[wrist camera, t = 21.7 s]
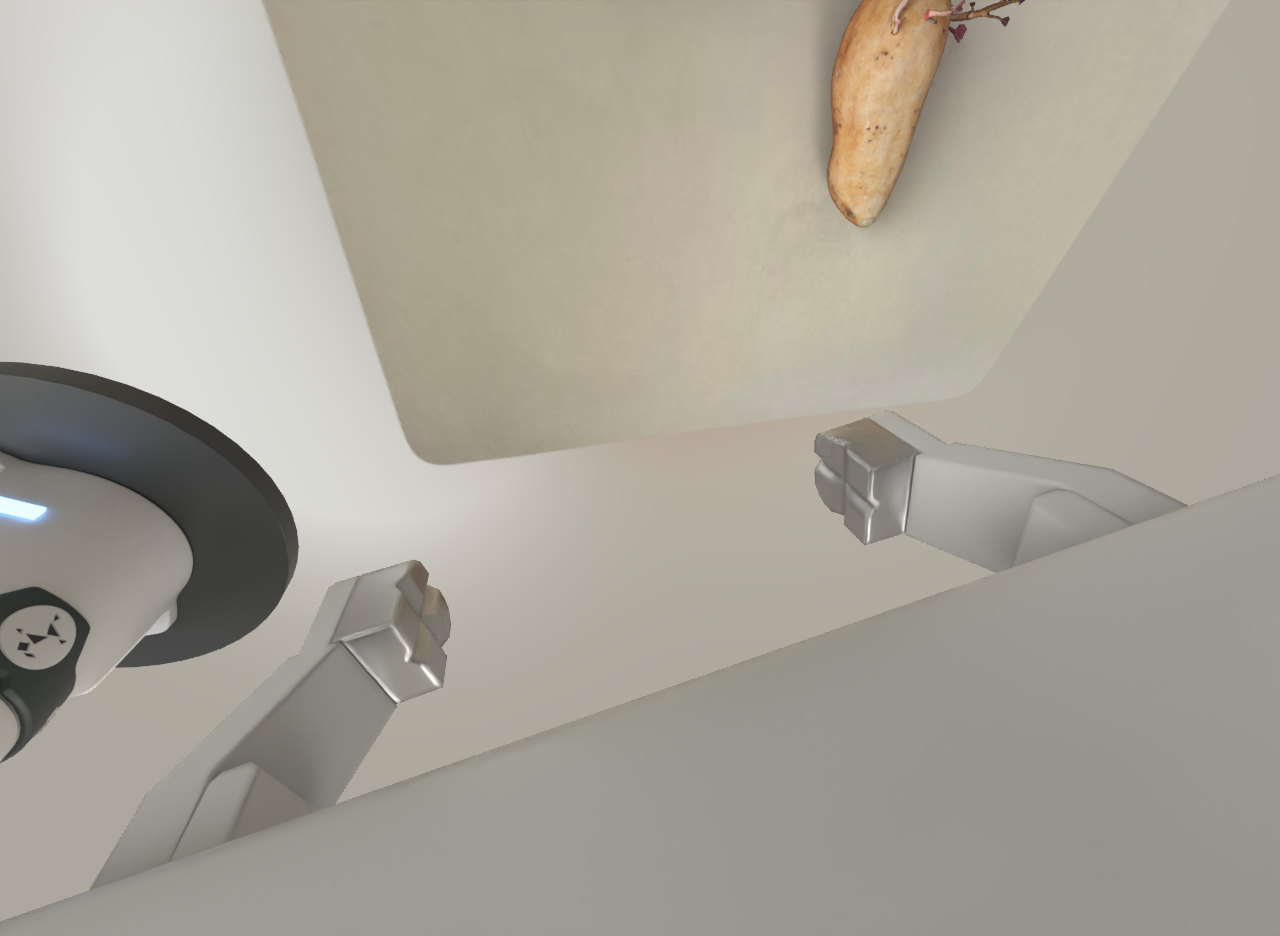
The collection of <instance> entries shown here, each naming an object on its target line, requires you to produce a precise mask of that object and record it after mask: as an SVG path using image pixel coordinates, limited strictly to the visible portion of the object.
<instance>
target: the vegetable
mask: <svg viewBox="0 0 1280 936" xmlns="http://www.w3.org/2000/svg"><path fill="white" fill-rule="evenodd" d="M1023 1H1025V0H1017V1H1016V0H1008V1H1006V0H1001V1H1000V2H999V3H995V4H992V5H989V6H987V7H985V8H983V9H981V10H976V11H974V7H973V5H975V2H972V3H970V6H971V7H972V10H971V11H969V12H965V13H958V14H952V13H957V12H960V11H962V5H963V4H964V3H965V0H964V1H962V2H961V3H960V4H959V5H958V6H956V7H955V8H953V9H951V7H952V5H951V0H863V1H862V3H861V4H860V5H859V7H858V8H857V10H856V12H855V13H854V15H853V17H852V18H851V20H850V22H849V24H848V26H847V28H846V30H845V33H844V35H843V38H842V41H841V45H840V48H839V51H838V55H837V58H836V61H835V65H834V68H833V75H832V81H831V107H832V120H833V147H832V152H831V156H830V160H829V165H828V170H827V181H828V188H829V191H830V194H831V197H832V199H833V201H834V203H835V205H836V206H837V208H838V209H839V210H840V211H841V212H842V214H843V215H844V216H845V217H846V218H847V219H848V220H849V221H851V222H852V223H853V224H855V225H856V226H858V227H862V228H863V227H867V226H869V225H870V224H872V223H873V222H874V221H875V220H876V218H877V217H878V215H879V214H880V212H881V210H882V209H883V207H884V206H885V204H886V202H887V200H888V198H889V196H890V194H891V192H892V190H893V188H894V186H895V183H896V181H897V179H898V176H899V174H900V172H901V169H902V167H903V165H904V162H905V159H906V156H907V153H908V150H909V147H910V144H911V141H912V137H913V134H914V131H915V127H916V124H917V121H918V118H919V115H920V112H921V109H922V106H923V103H924V100H925V98H926V95H927V93H928V90H929V88H930V85H931V83H932V80H933V78H934V76H935V73H936V71H937V68H938V66H939V63H940V60H941V57H942V53H943V50H944V46H945V43H946V40H947V35H948V29H949V30H950V32H951V33H953V35H954V37H955V39H956V40H957V42H958V43H959V41H960V40H961V39H962V38H963V35H964V33H965V31H966V30H967V28H966V27H965V25H964V24H961V25H959V26H958V27H957V28H956V29H953V28H952V27H950V26H949V24H950V21H956V22H957V21H964V20H970V19H974V18H977V17H989V18H996V19H999V20H1000V21H1001V23H1002V24H1003V25H1004V26H1005V27H1006V25H1007V23H1008V21H1009V19H1010V18H1009V17H1006V18H1003V19H1002V18H1000V17H998V16H994V15H990V14H989V12H990V11H992V10H995V9H998V8H1000V7H1003V6H1005V5H1008V4H1011V3H1016V2H1019V5H1020V4H1021V3H1022V2H1023ZM959 6H960V7H959Z"/></svg>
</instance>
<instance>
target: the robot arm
mask: <svg viewBox="0 0 1280 936" xmlns="http://www.w3.org/2000/svg"><path fill="white" fill-rule="evenodd" d="M814 451H815V453H816V454H817V455H818V456H819V457H821V460H820V462H819V464H818V465H817V467H816V468H815V484H816V487H817V490H818V493H819V495H820V497H821V499H822V500H823V502H824V504H825V505H826V506H827V507H828V508H829V509H830V510H831V511H832V512H835V513H838V514H842V515H845V518H844V519H845V520H844V525H845V526H846V527H847V528H848V529H849V530H850V531H851V532H852V533H853V534H854V535H855V536H856V537H857V538H858V539H859V540H860V541H861V542H862V543H863V544H864V545H867V544H870V543H874V542H877V541H880V540H884V539H887V538H890V537H893V536H897V535H900V534H903V533H906V534H905V535H907V536H909V537H912V538H914V539H916V540H919V541H921V542H923V543H926V544H928V545H931V546H933V547H935V548H938V549H940V550H943V551H945V552H948V553H950V554H952V555H955V556H957V557H959V558H962V559H964V560H967V561H969V562H971V563H974V564H976V565H979V566H981V567H983V568H986V569H988V570H990V571H993V572H995V574H993V575H990V576H987V577H984V578H981V579H978V580H976V581H973V582H970V583H967V584H964V585H961V586H959V587H955V588H953V589H950V590H947V591H944V592H941V593H938V594H935V595H933V596H930V597H927V598H924V599H921V600H918V601H915V602H913V603H910V604H907V605H904V606H901V607H898V608H896V609H893V610H890V611H887V612H884V613H881V614H878V615H876V616H873V617H870V618H867V619H864V620H861V621H858V622H855V623H853V624H850V625H847V626H844V627H841V628H838V629H835V630H833V631H830V632H827V633H824V634H821V635H818V636H816V637H813V638H810V639H807V640H804V641H801V642H798V643H795V644H792V645H790V646H787V647H784V648H781V649H778V650H775V651H772V652H770V653H767V654H764V655H761V656H758V657H755V658H752V659H749V660H747V661H744V662H741V663H738V664H735V665H733V666H730V667H727V668H724V669H721V670H718V671H715V672H713V673H710V674H707V675H704V676H701V677H698V678H695V679H692V680H690V681H687V682H684V683H681V684H678V685H676V686H673V687H670V688H667V689H664V690H661V691H658V692H655V693H652V694H650V695H647V696H644V697H641V698H638V699H635V700H632V701H630V702H627V703H624V704H621V705H618V706H615V707H613V708H610V709H607V710H604V711H601V712H598V713H596V714H593V715H590V716H587V717H584V718H581V719H578V720H576V721H572V722H570V723H567V724H564V725H561V726H558V727H555V728H552V729H550V730H547V731H544V732H541V733H538V734H536V735H532V736H530V737H527V738H524V739H521V740H518V741H515V742H512V743H510V744H507V745H504V746H501V747H498V748H495V749H493V750H490V751H487V752H484V753H481V754H478V755H476V756H473V757H470V758H467V759H464V760H461V761H458V762H455V763H452V764H450V765H447V766H444V767H441V768H438V769H435V770H432V771H430V772H427V773H424V774H421V775H418V776H415V777H413V778H410V779H407V780H404V781H401V782H398V783H395V784H393V785H390V786H387V787H384V788H381V789H378V790H375V791H372V792H370V793H367V794H364V795H361V796H358V797H355V798H352V799H350V800H347V801H344V802H341V803H338V804H336V802H337V800H338V799H339V797H340V795H341V794H342V792H343V791H344V789H345V788H346V786H347V785H348V783H349V781H350V780H351V778H352V777H353V775H354V774H355V772H356V770H357V769H358V767H359V766H360V764H361V763H362V761H363V759H364V757H365V756H366V755H367V753H368V751H369V750H370V748H371V747H372V745H373V744H374V742H375V740H376V738H377V737H378V736H379V734H380V732H381V731H382V729H383V728H384V726H385V725H386V723H387V721H388V720H389V718H390V717H391V715H392V714H393V712H394V710H395V709H396V707H397V706H396V705H395V704H398V703H401V702H403V701H406V700H409V699H412V698H415V697H417V696H420V695H423V694H425V693H428V692H431V691H433V690H436V689H439V688H442V687H443V682H444V675H445V667H446V660H447V655H446V654H445V653H444V651H443V650H442V648H441V647H442V646H443V645H444V643H445V642H446V641H447V639H448V638H449V637H450V628H451V621H450V614H449V609H448V606H447V603H446V601H445V599H444V597H443V595H442V594H441V592H440V591H439V590H438V589H436V588H433V587H431V586H429V585H427V580H428V576H429V573H428V572H427V570H426V569H425V568H424V567H423V565H422V563H421V562H420V561H416V560H411V561H407V562H404V563H401V564H397V565H394V566H391V567H387V568H383V569H380V570H377V571H373V572H370V573H367V574H363V575H361V576H356V577H353V578H350V579H347V580H344V581H340V582H337V583H335V584H334V585H332V586H330V587H329V588H328V590H327V593H326V595H325V597H324V600H323V602H322V604H321V606H320V609H319V611H318V613H317V615H316V617H315V620H314V622H313V624H312V626H311V628H310V631H309V633H308V635H307V637H306V640H305V642H304V644H303V646H302V649H301V651H300V653H299V655H296V656H294V657H291V658H289V659H288V660H287V661H286V662H285V663H283V664H282V665H281V666H280V667H279V668H278V669H277V670H276V671H275V672H274V673H273V674H272V675H271V676H270V677H269V678H268V679H267V680H266V681H265V682H264V683H262V684H261V685H260V686H259V687H258V688H257V689H256V690H255V691H254V692H253V693H252V694H251V695H250V696H249V697H248V698H247V699H246V700H245V701H244V702H243V703H241V705H239V706H238V707H237V708H236V709H235V710H234V711H233V712H232V713H231V714H230V715H229V716H228V717H227V718H226V719H225V720H224V721H223V722H222V723H220V724H219V725H218V726H217V727H216V728H215V729H214V730H213V731H212V732H211V733H210V734H209V735H208V736H207V737H206V738H205V739H204V740H203V741H202V742H201V743H199V744H198V745H197V746H196V747H195V748H194V749H193V750H192V751H191V752H190V753H189V754H188V755H187V756H186V757H185V758H184V759H183V760H182V761H181V762H180V763H179V764H177V765H176V766H175V767H174V768H173V769H172V770H171V771H170V772H169V773H168V774H167V775H166V776H165V777H164V778H163V779H162V780H161V781H160V782H159V783H157V785H155V786H154V787H153V788H152V789H151V790H150V791H149V792H148V793H147V794H146V795H145V797H144V799H143V800H142V802H141V804H140V805H139V807H138V809H137V810H136V812H135V814H134V815H133V817H132V819H131V820H130V822H129V824H128V825H127V827H126V829H125V830H124V833H123V834H122V836H121V837H120V839H119V841H118V842H117V844H116V846H115V847H114V849H113V851H112V852H111V854H110V856H109V858H108V859H107V861H106V863H105V864H104V866H103V868H102V869H101V871H100V873H99V874H98V876H97V878H96V879H95V881H94V883H93V885H92V886H91V888H90V890H89V891H87V892H84V893H81V894H78V895H76V896H73V897H70V898H67V899H64V900H61V901H58V902H55V903H53V904H50V905H47V906H44V907H41V908H38V909H36V910H33V911H30V912H27V913H24V914H21V915H18V916H15V917H13V918H10V919H7V920H4V921H1V922H0V936H1280V474H1278V475H1276V476H1273V477H1270V478H1267V479H1264V480H1261V481H1258V482H1256V483H1253V484H1250V485H1247V486H1244V487H1241V488H1238V489H1235V490H1233V491H1230V492H1227V493H1224V494H1221V495H1218V496H1216V497H1213V498H1210V499H1207V500H1204V501H1201V502H1199V503H1195V504H1193V505H1190V506H1188V505H1186V504H1184V503H1182V502H1180V501H1178V500H1176V499H1174V498H1172V497H1169V496H1168V495H1165V494H1163V493H1161V492H1159V491H1157V490H1155V489H1153V488H1151V487H1149V486H1146V485H1145V484H1143V483H1141V482H1139V481H1136V480H1134V479H1132V478H1130V477H1128V476H1126V475H1124V474H1122V473H1120V472H1118V471H1116V470H1114V469H1109V468H1103V467H1098V466H1092V465H1086V464H1080V463H1074V462H1068V461H1062V460H1056V459H1050V458H1044V457H1038V456H1033V455H1026V454H1021V453H1015V452H1009V451H1002V450H997V449H990V448H985V447H979V446H973V445H967V444H961V443H953V444H950V445H948V444H946V443H945V442H943V441H941V440H940V439H938V438H936V437H934V436H933V435H931V434H930V433H928V432H926V431H925V430H923V429H921V428H920V427H918V426H916V425H915V424H913V423H911V422H910V421H908V420H906V419H905V418H903V417H901V416H900V415H898V414H896V413H895V412H892V411H883V412H880V413H877V414H874V415H872V416H868V417H866V418H863V419H862V420H859V421H856V422H853V423H850V424H846V425H843V426H840V427H837V428H834V429H831V430H828V431H825V432H822V433H819V434H817V436H816V439H815V450H814ZM192 569H193V554H192V550H191V547H190V544H189V542H188V540H187V538H186V536H185V535H184V533H183V532H182V530H181V529H180V528H179V526H178V525H177V524H176V523H175V522H174V521H173V519H172V518H171V517H169V516H168V515H167V514H166V513H165V512H164V511H163V510H162V509H160V508H159V507H158V506H156V505H155V504H154V503H152V502H151V501H149V500H148V499H146V498H144V497H143V496H141V495H139V494H138V493H136V492H134V491H132V490H130V489H128V488H126V487H124V486H122V485H119V484H117V483H115V482H112V481H110V480H107V479H104V478H101V477H98V476H95V475H92V474H88V473H84V472H80V471H76V470H71V469H66V468H60V467H54V466H47V465H41V464H36V463H31V462H27V461H23V460H20V459H18V458H15V457H13V456H10V455H8V454H5V453H3V452H0V763H1V762H3V761H5V760H7V759H8V758H11V757H12V756H14V755H15V754H16V753H18V752H19V751H20V750H21V749H22V748H23V747H24V746H25V745H26V744H27V743H28V742H29V741H30V740H31V739H32V738H33V737H35V736H36V735H37V734H38V733H39V732H41V731H42V730H43V728H44V727H45V726H46V725H47V724H48V723H49V722H50V721H51V719H52V718H53V717H54V716H55V714H56V712H57V711H58V709H59V707H60V706H61V705H62V704H63V703H64V702H65V700H66V699H68V698H72V697H74V696H77V695H84V694H86V693H88V692H90V691H91V690H93V689H94V688H95V687H96V686H98V685H99V683H100V682H101V681H102V680H103V679H104V678H105V677H106V676H107V675H108V674H109V673H110V672H111V671H112V670H113V669H114V668H115V667H116V666H117V665H118V664H119V663H120V662H121V661H122V660H123V658H124V657H125V656H126V655H127V654H128V653H129V652H130V651H131V650H132V649H133V648H134V647H135V646H136V645H137V644H138V643H139V642H140V641H141V639H142V638H143V637H144V636H146V635H152V634H158V633H162V632H164V631H166V630H167V629H168V628H169V627H170V626H171V625H172V624H173V623H174V622H175V621H176V618H177V597H178V595H179V594H180V592H181V591H182V589H183V588H184V587H185V585H186V584H187V582H188V581H189V579H190V576H191V573H192Z"/></svg>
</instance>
